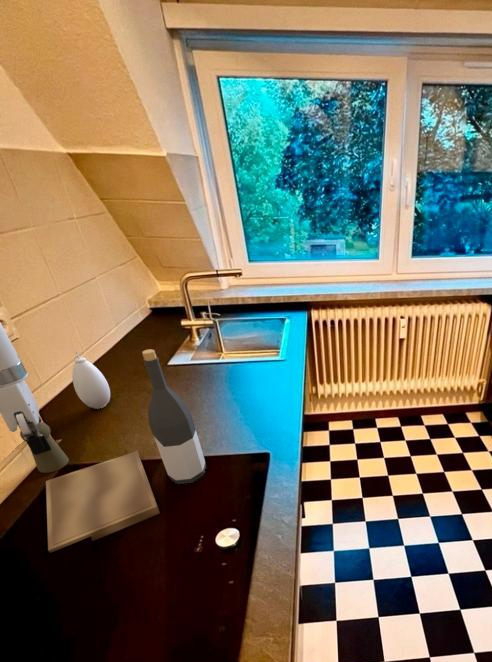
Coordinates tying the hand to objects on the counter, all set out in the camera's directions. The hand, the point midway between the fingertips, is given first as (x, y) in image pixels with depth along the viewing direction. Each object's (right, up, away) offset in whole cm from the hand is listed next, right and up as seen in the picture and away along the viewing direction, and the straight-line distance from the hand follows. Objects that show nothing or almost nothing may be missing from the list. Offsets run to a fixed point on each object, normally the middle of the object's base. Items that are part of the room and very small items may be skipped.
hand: (42, 444), depth 88 cm
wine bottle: (+33, -7, 0) cm, 34 cm away
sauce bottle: (-4, +9, +25) cm, 27 cm away
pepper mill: (0, -5, +3) cm, 6 cm away
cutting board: (+18, -11, -7) cm, 22 cm away
